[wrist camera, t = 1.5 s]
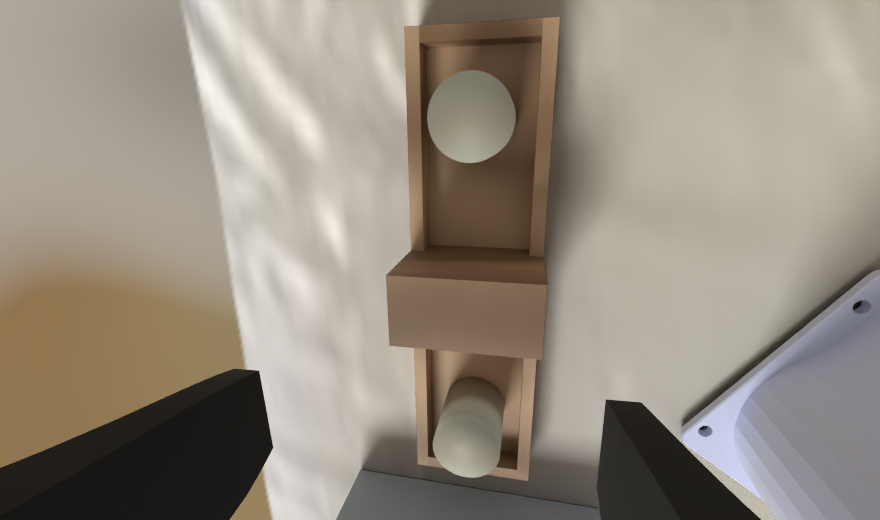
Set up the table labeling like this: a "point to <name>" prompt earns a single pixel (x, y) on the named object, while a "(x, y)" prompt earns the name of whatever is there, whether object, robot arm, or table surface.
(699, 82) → the table surface
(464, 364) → the walnut tray
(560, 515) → the slate shelf
